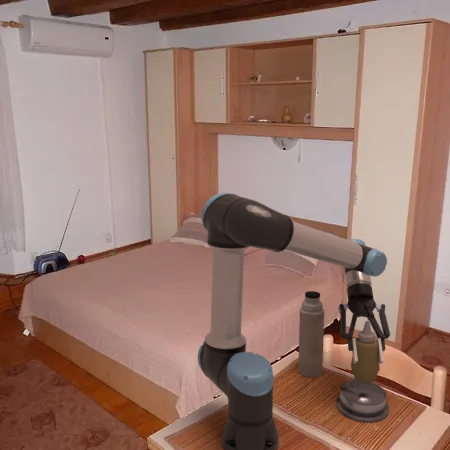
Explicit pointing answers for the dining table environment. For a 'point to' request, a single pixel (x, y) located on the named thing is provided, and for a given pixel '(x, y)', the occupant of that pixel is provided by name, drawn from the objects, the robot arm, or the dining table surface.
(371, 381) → the squeeze bottle
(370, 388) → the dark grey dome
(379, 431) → the dining table surface
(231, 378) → the robot arm
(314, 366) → the thermos bottle
